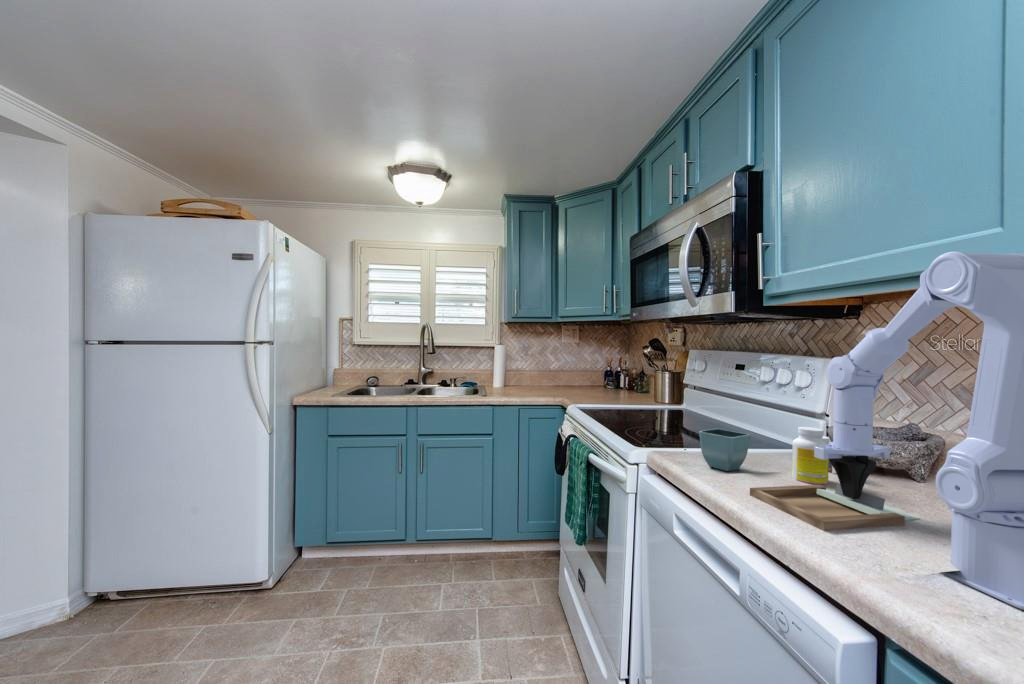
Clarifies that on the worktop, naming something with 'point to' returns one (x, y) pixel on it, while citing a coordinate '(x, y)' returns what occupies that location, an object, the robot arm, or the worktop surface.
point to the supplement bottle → (809, 457)
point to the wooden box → (821, 508)
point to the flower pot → (724, 448)
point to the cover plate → (863, 502)
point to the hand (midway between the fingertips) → (851, 497)
